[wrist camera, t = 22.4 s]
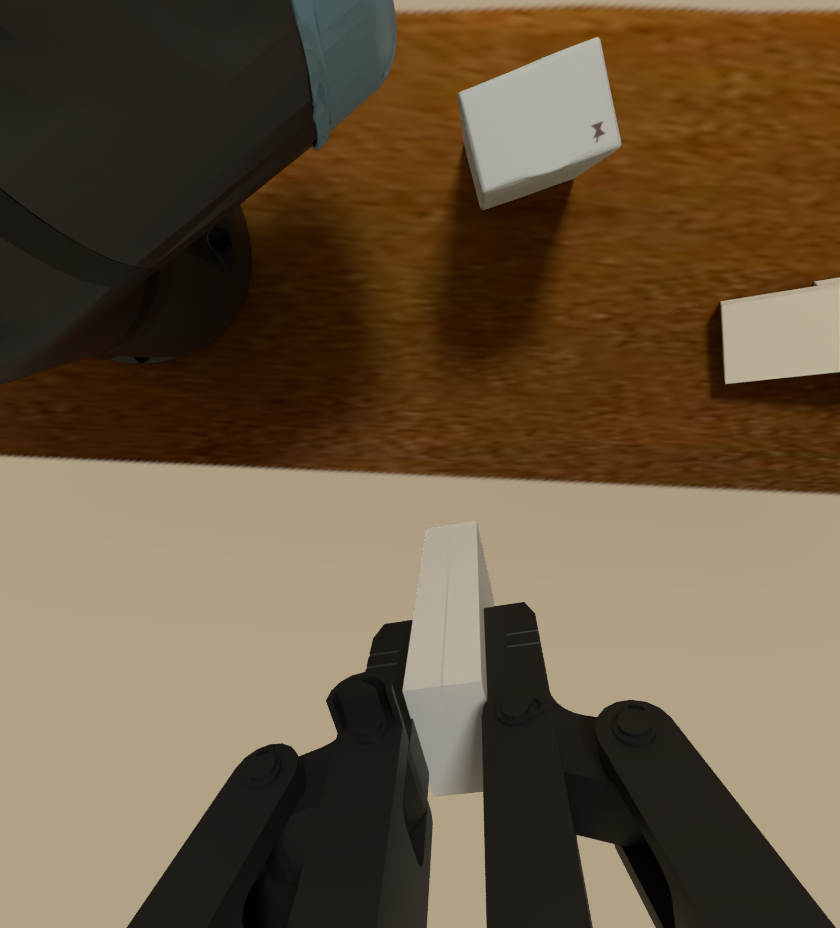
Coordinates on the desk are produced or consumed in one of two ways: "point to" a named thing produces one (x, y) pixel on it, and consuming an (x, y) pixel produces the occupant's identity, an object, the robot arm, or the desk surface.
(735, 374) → the domino
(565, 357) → the desk surface
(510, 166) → the skincare box
